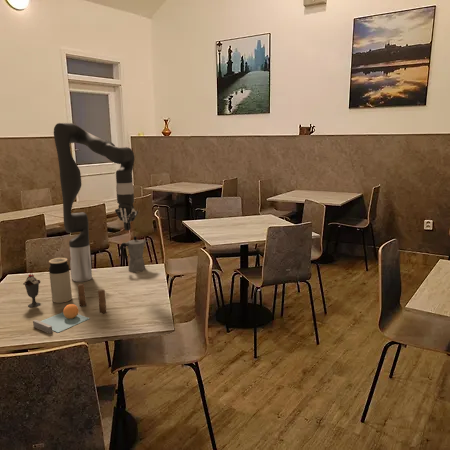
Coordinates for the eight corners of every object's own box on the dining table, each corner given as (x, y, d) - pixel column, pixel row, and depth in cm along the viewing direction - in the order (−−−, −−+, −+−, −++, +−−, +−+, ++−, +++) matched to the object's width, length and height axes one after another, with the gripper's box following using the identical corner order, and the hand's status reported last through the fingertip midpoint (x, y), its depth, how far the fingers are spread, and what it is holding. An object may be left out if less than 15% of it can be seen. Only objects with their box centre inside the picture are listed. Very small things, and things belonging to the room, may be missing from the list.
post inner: (78, 305, 176) (76, 285, 174) (83, 303, 178) (81, 283, 176) (82, 306, 175) (80, 286, 173) (87, 304, 177) (85, 284, 175)
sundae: (37, 300, 182) (34, 267, 179) (45, 304, 178) (42, 270, 174) (22, 305, 177) (18, 271, 174) (30, 309, 173) (26, 274, 169)
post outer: (98, 312, 169) (96, 291, 167) (103, 310, 171) (101, 289, 169) (102, 313, 168) (100, 292, 166) (107, 311, 170) (106, 290, 168)
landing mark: (35, 323, 160) (35, 323, 160) (67, 310, 171) (67, 310, 171) (58, 332, 152) (58, 332, 152) (89, 318, 163) (89, 318, 163)
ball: (73, 307, 168) (65, 319, 165) (66, 300, 165) (57, 312, 161) (83, 310, 166) (75, 322, 163) (76, 302, 162) (68, 315, 159)
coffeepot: (143, 264, 230) (142, 232, 226) (152, 269, 222) (150, 236, 219) (117, 270, 220) (115, 237, 216) (125, 275, 213) (123, 241, 209)
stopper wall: (33, 326, 157) (32, 320, 156) (36, 325, 158) (35, 319, 157) (49, 333, 151) (48, 327, 151) (52, 332, 152) (51, 326, 152)
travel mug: (65, 304, 178) (61, 263, 174) (48, 302, 179) (44, 262, 176) (75, 296, 185) (71, 257, 182) (59, 295, 187) (55, 257, 183)
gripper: (108, 192, 189) (111, 230, 193) (129, 194, 182) (131, 233, 185) (121, 190, 195) (123, 227, 199) (141, 192, 188) (143, 230, 191)
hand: (127, 230), depth 192 cm, fingers closed
